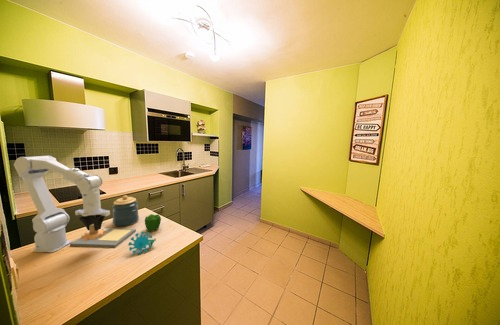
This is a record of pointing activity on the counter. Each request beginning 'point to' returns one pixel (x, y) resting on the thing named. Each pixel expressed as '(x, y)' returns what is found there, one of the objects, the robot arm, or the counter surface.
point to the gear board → (106, 238)
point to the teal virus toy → (141, 242)
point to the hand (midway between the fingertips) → (94, 229)
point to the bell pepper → (152, 222)
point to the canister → (125, 211)
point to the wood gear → (93, 233)
